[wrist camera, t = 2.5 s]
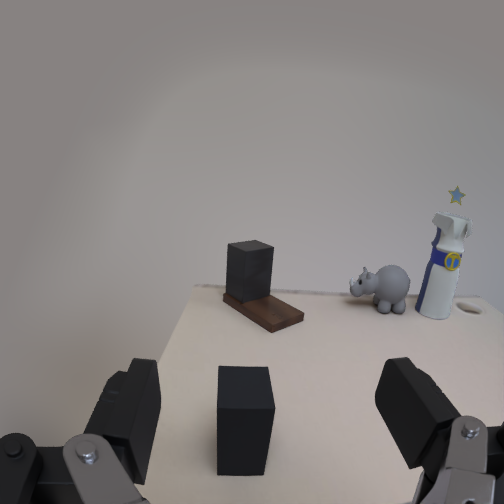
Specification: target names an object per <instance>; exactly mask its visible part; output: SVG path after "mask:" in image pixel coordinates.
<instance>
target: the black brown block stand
mask: <svg viewBox="0 0 504 504" xmlns="http://www.w3.org/2000/svg"><path fill="white" fill-rule="evenodd" d="M273 253H274V247H272V246H270V245H267V244H265V243H262V242H259V241H257V240H252V241H245V242H238V243H231V244H228V251H227V273H226V293H224V294H223V301H224V302H225V303H227V304H228V305H230V306H231V307H233V308H234V309H236V310H237V311H239V312H240V313H242V314H243V315H245V316H246V317H248V318H249V319H251V320H252V321H254V322H256V323H257V324H259V325H260V326H262V327H263V328H265V329H266V330H268V331H269V332H271V333H272V332H275V331H278V330H280V329H283V328H286V327H288V326H291V325H293V324H296V323H298V322H301V321H303V318H304V312H302V311H300V310H298V309H296V308H294V307H292V306H290V305H288V304H287V303H285V302H283V301H281V300H279V299H277V298H275V297H273V296H272V295H270V285H271V274H272V263H273Z"/></svg>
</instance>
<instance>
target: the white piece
mask: <svg viewBox="0 0 504 504" xmlns="http://www.w3.org/2000/svg"><path fill="white" fill-rule="evenodd" d="M449 193H450V194H451V195H452V199H451V203H453V202H457V203H459V204H460V205H461V198H462V197H464V196H465V194H463V193H461V192H460V191H459V188H458V186H457V188H456V189H455V191H449ZM433 223H434V225H436V226H437V234H436V237H435V239H434V241H433V242H432V246H433V249H432V253H431V258H430V261H429V262H428V264H427V267H426V271H425V275H424V279H423V283H422V287H421V290H420V294H419V297H418V300H417V303H416V306H415V308H416V310H417V311H418V312H419V313H420V314H422V315H424V316H426V317H429V318H432V319H446V318H448V317H449V315H450V311H451V306H452V302H453V298H454V294H455V290H456V286H457V282H458V278H459V266H460V262H461V257H462V253H464V247H463V241H464V237H465V234H466V232H467V229H468V232H467V236H466V237H468V236H470V235H471V233H472V220H471V219H469V218H466V217H463V216H460V215H455V214H451V213H446V212H437V213H436V215H435V217H434V218H433Z"/></svg>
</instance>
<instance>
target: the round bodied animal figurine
mask: <svg viewBox="0 0 504 504" xmlns="http://www.w3.org/2000/svg"><path fill="white" fill-rule="evenodd" d="M363 269H364V272H363V273H362V274H361V275H360V276H359V279H358V280H357V281H356V280H355V282H353V278H351V280H350V282H349V283H350V292H351V294H352V295H353V296H355V297H360V296H362V295H363V294H366V295H370V294H373V293H375V295H374V298H373V302H374V303H375V304H376V305H378V311H379V312H382V313H388V312H390V310H391V304H393V306H392V310H393V312H395V313H403V312H404V311H405V307H406V304H405V296H406V295H407V292H408V291H409V286H410V279H409V277H408V275H407V273H406V272H405V271H404V270H403V269H402V268H400V267H399V266H395V265H388V266H385V267H383V268H381V269H380V270H379V271H378V272H377V273H376V274H373V273H371V272H367V269H366V268H365V267H364V268H363Z"/></svg>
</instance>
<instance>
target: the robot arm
mask: <svg viewBox="0 0 504 504" xmlns="http://www.w3.org/2000/svg"><path fill="white" fill-rule="evenodd" d="M375 403H376V406H377V408H378V410H379V412H380V414H381V416H382V418H383V420H384V421H385V423H386V425H387V427H388V429H389V431H390V433H391V435H392V437H393V438H394V440H395V442H396V444H397V446H398V448H399V450H400V452H401V454H402V456H403V458H404V459H405V461H406V463H407V465H408V467H409V469H413V468H416V467H420V466H422V467H423V469H424V470H423V471H422V473H421V475H420V478H419V481H418V485H417V488H416V491H415V494H414V497H413V500H412V503H411V504H504V422H503V423H502V425H501V426H495V427H486V426H485V424H484V423H483V422H482V421H481V420H479V419H477V418H475V417H472V416H461V415H460V413H459V412H458V411H457V409H456V408H455V407H454V406H453V404H452V403H451V402H450V401H449V399H448V398H447V397H446V395H445V394H444V393H442V390H441V389H440V388H439V387H438V386H436V383H435V382H434V381H433V379H432V378H431V377H430V376H429V375H428V374H426V373H425V372H423V371H422V370H420V369H417V368H416V367H415V365H414V364H413V363H412V362H411V360H410V359H409V358H407V357H403V358H394V359H388V360H387V361H386V362H385V365H384V368H383V371H382V374H381V377H380V380H379V383H378V386H377V389H376V392H375ZM160 409H161V392H160V384H159V377H158V369H157V362H156V360H149V359H138V358H134V359H133V360H132V362H131V364H130V367H129V369H128V371H127V372H123V371H118V372H117V373H115V374H114V375H113V376H112V377H111V378H110V379H108V381H107V383H106V385H105V387H104V389H103V392H102V394H101V395H100V398H99V401H98V402H97V404H96V406H95V408H94V411H93V413H92V415H91V417H90V419H89V422H88V424H87V426H86V428H85V431H84V433H83V434H80V435H77V436H74V437H72V438H71V439H70V440H69V441H68V442H66V444H65V445H64V446H62V447H36V445H35V444H34V442H33V440H32V439H30V437H28V436H26V435H24V434H20V433H11V434H8V435H5V436H4V437H2V438H1V439H0V504H150V503H149V502H148V500H147V499H146V498H143V497H142V496H141V494H140V493H139V491H138V490H137V488H136V487H135V485H134V483H135V484H141V485H144V484H145V479H146V474H147V469H148V464H149V459H150V455H151V450H152V445H153V441H154V436H155V432H156V427H157V423H158V418H159V414H160Z"/></svg>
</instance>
